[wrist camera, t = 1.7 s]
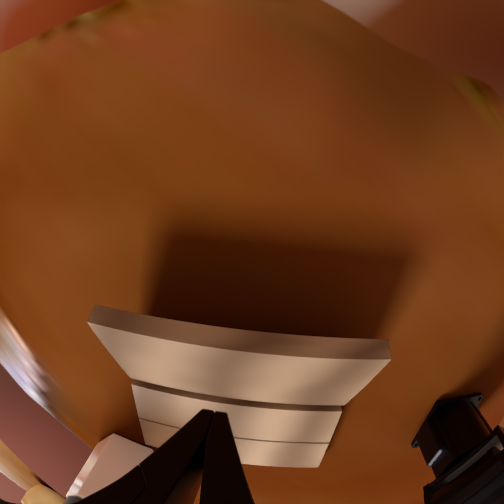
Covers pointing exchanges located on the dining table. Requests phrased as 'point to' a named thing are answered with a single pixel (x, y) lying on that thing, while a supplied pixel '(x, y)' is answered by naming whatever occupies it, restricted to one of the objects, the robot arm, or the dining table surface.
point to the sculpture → (42, 496)
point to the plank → (239, 359)
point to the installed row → (242, 424)
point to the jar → (106, 465)
